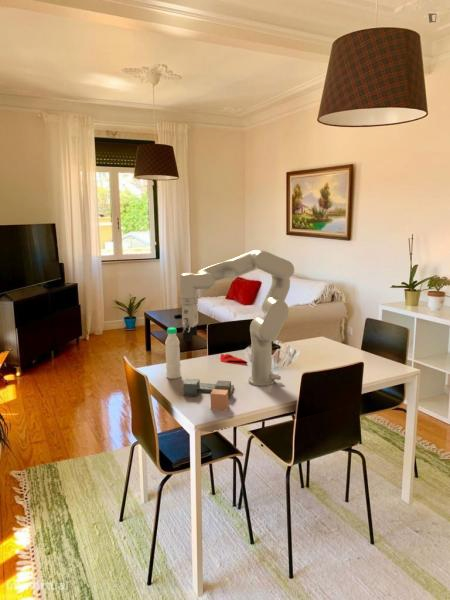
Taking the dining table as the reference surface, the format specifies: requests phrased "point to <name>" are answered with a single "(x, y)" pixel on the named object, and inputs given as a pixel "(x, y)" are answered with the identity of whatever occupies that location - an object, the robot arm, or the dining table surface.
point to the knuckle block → (219, 399)
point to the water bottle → (172, 354)
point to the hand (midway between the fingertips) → (190, 338)
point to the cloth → (231, 359)
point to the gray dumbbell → (205, 387)
